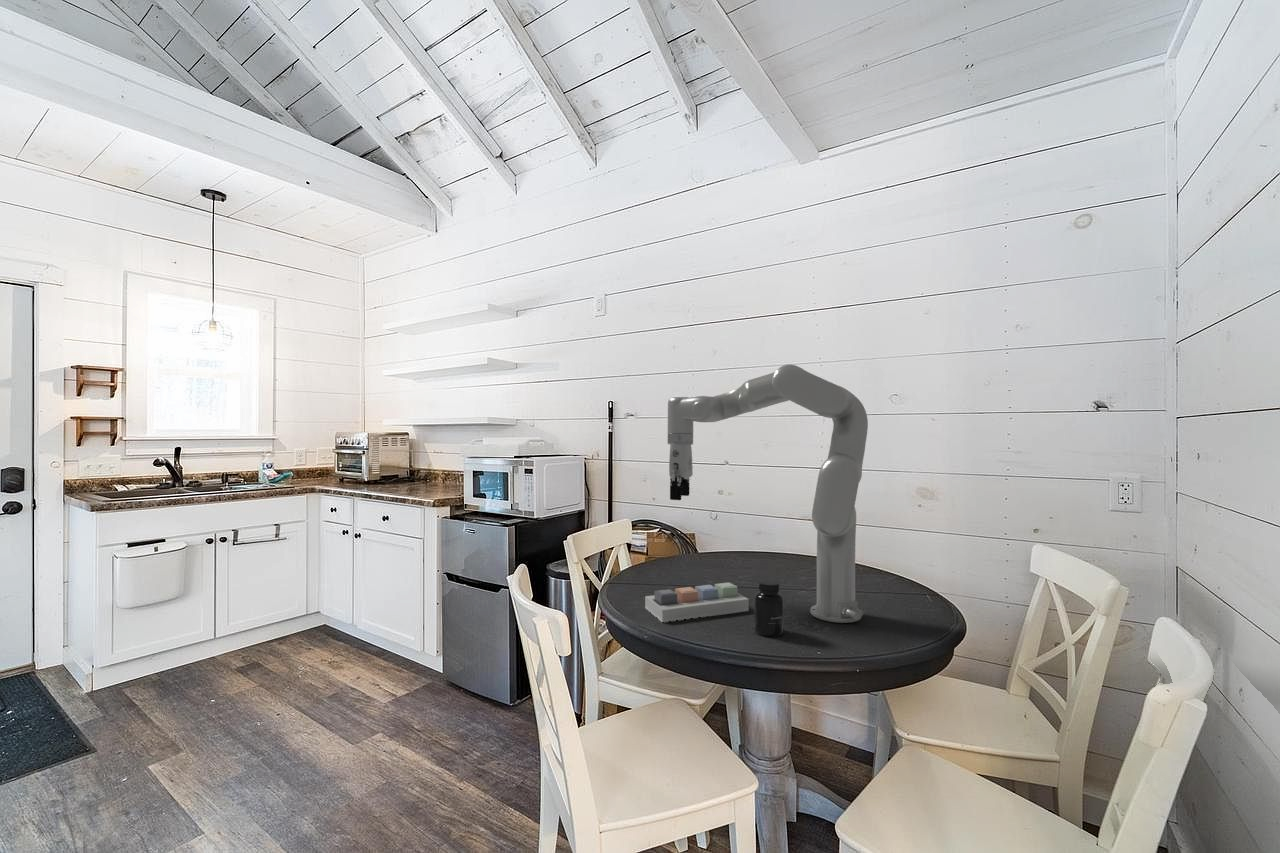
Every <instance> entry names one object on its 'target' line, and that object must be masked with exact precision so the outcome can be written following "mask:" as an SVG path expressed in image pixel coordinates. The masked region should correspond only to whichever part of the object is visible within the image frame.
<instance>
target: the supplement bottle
mask: <svg viewBox="0 0 1280 853" xmlns="http://www.w3.org/2000/svg"><path fill="white" fill-rule="evenodd" d="M780 591H781V590H780V582H778V581H776V580H771V579H768V580H767V579H763V580H760V581H759V583H758V592H756V593H755V595H754V606H753V607H754V608H753V609H754V610H753V612H754V615H753V616H754V617H753V618H754V619H753V620H754V621H753V629H754V632H755V633H756V634H757V635H760V636H764V637H769V638H770V637H774V638H775V637H779V636H781V635H782V634H783V633H784V597H783V595H782V594H781V593H779V592H780Z"/></svg>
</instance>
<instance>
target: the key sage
mask: <svg viewBox="0 0 1280 853" xmlns="http://www.w3.org/2000/svg"><path fill="white" fill-rule="evenodd" d="M714 587H715V588H717V589H718V596H719V597H721V598H728V597H736V596H738V593H739V592H738V586H737V585H735V584H733V583H732V582H722V583H714Z"/></svg>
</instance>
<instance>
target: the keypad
mask: <svg viewBox="0 0 1280 853" xmlns="http://www.w3.org/2000/svg"><path fill="white" fill-rule="evenodd" d="M749 602H750V599H749V598H747V597H745V596H744V595H742V594H741V593H739V592H738V596H736V597H728V598H721V597H719V596H718V599H711V600H703V601H702V600H700V599H699V598H698V601H695V602H687V603H681V602H679V601H678V600H677V604H671V605H663V606H660V605H658V604H657V603H656V602H654V594H653V595H646V596H645V600H644V603H645V604H644V605H645V607H644V609H646V610H647V611H648V612H649V613H650V612H651V613H650V614H652V615H653V616H654V617H655V618H656V617H657V618H658V619H657V618H656V619H657V620H658V621H660V622H661V623H662V622H664V623H670V622H669V621H671V622H677V621H676V620H678V621H684V619H686V620H691V619H690V618H693V619H699V618H698V617H701V618H706V617H707V616H708V617H714V616H721V615H728V614H729V615H730V614H736V613H743V612H745V613H746V612H749V605H750V604H749Z"/></svg>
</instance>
